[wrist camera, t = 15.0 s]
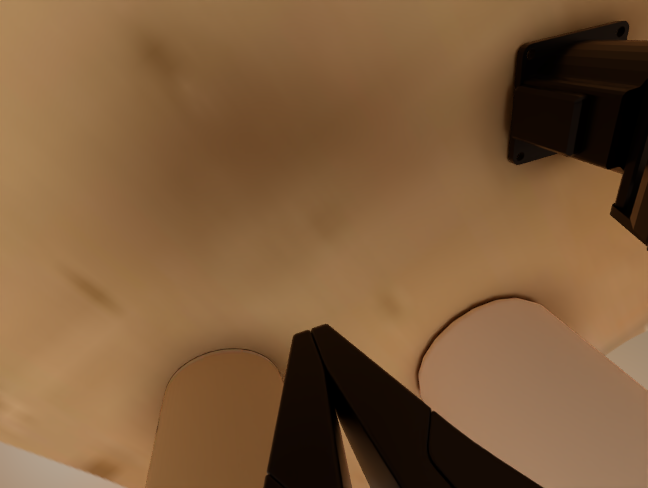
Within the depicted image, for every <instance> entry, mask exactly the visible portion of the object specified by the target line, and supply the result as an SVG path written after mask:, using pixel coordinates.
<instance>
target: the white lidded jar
mask: <svg viewBox="0 0 648 488" xmlns="http://www.w3.org/2000/svg"><path fill="white" fill-rule="evenodd" d="M418 376H419V385H420V394H421V398H422V399H423V401H424V403H425V404H427V405H428V406H429V407H430V408H431V410H432V411H435V412H437V413H438V414H439V415H440V416H442V417H443V418H444V419H445V420H446V421H448V422H449V423H450V424H451V425H453V426H454V427H455V428H457V429H458V430H459V431H461V432H462V433H463V434H465V435H466V436H467V437H468V438H470V439H471V440H473V441H474V442H475V443H477V444H478V445H480V446H481V447H483V448H484V449H486V450H487V451H489V452H490V453H492V454H493V455H494V456H496V457H497V458H499V459H500V460H502V461H504V462H505V463H507V464H508V465H510V466H511V467H513V468H514V469H516V470H517V471H519V472H520V473H522V474H523V475H525V476H527V477H528V478H530V479H531V480H533V481H534V482H536V483H537V484H539V485H540V486H542V487H543V488H648V390H646V389H645V388H644V387H643V386H641V385H640V384H639V383H638V382H636V381H635V380H634V379H633V378H631V377H630V376H629V375H628V374H626V373H625V372H624V371H623V370H622V369H620V368H619V367H618V366H617V365H615V364H614V363H613V362H612V361H610V360H609V359H608V358H607V357H605V356H604V355H603V354H602V353H600V352H599V351H598V350H597V349H596V348H594V347H593V346H592V345H591V344H589V343H588V342H587V341H586V340H584V339H583V338H582V337H581V336H579V335H578V334H577V333H576V332H574V331H573V330H572V329H571V328H570V327H568V326H567V325H566V324H565V323H563V322H562V321H561V320H560V319H558V318H557V317H556V316H555V315H553V314H552V313H551V312H550V311H548V310H547V309H546V308H545V307H543V306H542V305H541V304H538V303H535V302H531V301H527V300H523V299H519V298H510V299H500V300H495V301H492V302H489V303H487V304H484V305H481V306H479V307H476V308H474V309H472V310H471V311H469V312H467V313H466V314H464V315H463V316H461V317H460V318H458V319H456V320H455V321H453V322H452V323H451V324H450V325H449V326H448V327H447V328H446V329H445V330H444V331H443V332H442V333H441V334H440V335H439V336H438V337H437V338H436V339H435V340H434V342H433V343H432V345H431V346H430V348H429V349H428V351H427V352H426V354H425V356H424V357H423V360H422V364H421V367H420V370H419V374H418Z"/></svg>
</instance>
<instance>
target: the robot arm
mask: <svg viewBox="0 0 648 488" xmlns="http://www.w3.org/2000/svg"><path fill="white" fill-rule="evenodd" d="M617 31H618V32H617ZM628 31H629V24H628V22H626V21H615V22H611V23H607V24H603V25H599V26H595V27H591V28H587V29H583V30H578V31H574V32H570V33H566V34H562V35H558V36H554V37H550V38H546V39H542V40H538V41H533V42H529V43H526V44H524V45H523V46H522V47H521V48H520V49H519V51H518V55H517V65H516V76H515V88H514V99H513V110H512V122H511V133H510V145H509V156H508V158H509V161H510V162H511V163H514V164H516V165H520V164H523V163H527V162H530V161H534V160H537V159H540V158H544V157H547V156H551V155H554V154H557V153H558V154H561V155H564V156H569V157H572V158H575V159H578V160H581V161H584V162H587V163H590V164H593V165H596V166H599V167H602V168H605V169H609V170H612V171H615V172H618V173H621V174H623V175H622V179H621V183H620V186H619V190H618V194H617V198H616V202H615V203H614V204H612V208H611V212H610V215H611V216H612V217H613V218H614V219H616V220H617V221H618V222H619V223H620V224H621V225H623V226H624V227H625V228H626V229H627V230H628V231H630V232H631V233H632V234H633V235H634V236H636V237H637V238H638V239H639V240H640V241H641V242H643V243H644V244H645V245H646V246H647V251H648V41H640V40H627V35H628ZM529 50H530V54H529V56H528V58H527V53H528V51H529ZM519 153H520V154H519ZM518 154H519V156H518V158H517V155H518ZM336 413H337V414H336ZM337 416H338V418H339V421H340V423H341V426H342V428H343V430H344V432H345V434H346V436H347V439H348V441H349V443H350V445H351V447H352V449H353V451H354V454H355V456H356V458H357V460H358V462H359V464H360V466H361V468H362V471H363V473H364V475H365V477H366V479H367V481H368V483H369V485H370V488H543V487H542V486H540V485H539V484H537V483H536V482H534V481H533V480H531V479H530V478H528V477H527V476H525V475H523V474H522V473H520V472H519V471H517V470H516V469H514V468H513V467H511V466H510V465H508V464H507V463H505V462H504V461H502V460H500V459H499V458H497V457H496V456H494V455H493V454H492V453H490V452H489V451H487V450H486V449H484V448H483V447H481V446H480V445H478V444H477V443H475V442H474V441H473V440H471V439H470V438H468V437H467V436H466V435H465V434H463V433H462V432H461V431H459V430H458V429H457V428H455V427H454V426H453V425H451V424H450V423H449V422H448V421H446V420H445V419H444V418H443V417H442V416H440V415H439V414H438V413H437V412H435V411H432V410H431V408H430V407H429V406H428V405H427V404H425V403H424V402H423V401H422V400H420V399H419V398H418V397H417V396H415V395H414V394H413V393H412V392H411V391H409V390H408V389H407V388H406V387H404V386H403V385H402V384H401V383H399V382H398V381H397V380H396V379H395V378H393V377H392V376H391V375H390V374H388V373H387V372H386V371H385V370H383V369H382V368H381V367H380V366H379V365H377V364H376V363H375V362H374V361H372V360H371V359H370V358H369V357H367V356H366V355H365V354H364V353H363V352H361V351H360V350H359V349H358V348H356V347H355V346H354V345H353V344H351V343H350V342H349V341H348V340H347V339H345V338H344V337H343V336H342V335H340V334H339V333H338V332H337V331H335V330H334V329H333V328H332V327H331V326H329V325H328V324H323V325H320V326H317V327H314V328H312V330H311V331H310V330H306V331H303V332H300V333H297V334H295V335H294V336H293V339H292V344H291V349H290V354H289V359H288V364H287V369H286V375H285V380H284V385H283V390H282V395H281V400H280V405H279V410H278V415H277V420H276V425H275V430H274V436H273V441H272V446H271V451H270V456H269V461H268V466H267V471H266V472H267V474H268V475H266V476H265V480H264V485H263V488H352V485H351V480H350V475H349V470H348V465H347V460H346V455H345V450H344V445H343V440H342V435H341V430H340V426H339V422H338V418H337Z"/></svg>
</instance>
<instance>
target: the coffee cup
mask: <svg viewBox="0 0 648 488" xmlns="http://www.w3.org/2000/svg"><path fill="white" fill-rule="evenodd" d="M283 385H284V384H283V381H282V379H281V376H280V373H279V371H278V369H277V368H276V366H275V365H274V364H273V363H272V362H271V361H270V360H269V359H267V358H266V357H264V356H262V355H261V354H258V353H255V352H253V351H248V350H243V349H225V350H219V351H213V352H210V353H207V354H204V355H201V356H199V357H197V358H195V359H193V360H191V361H190V362H188V363H187V364H185V365H184V366H183V367H181V368H180V369H179V370H178V371H177V372H176V373H175V374H174V376H173V377H172V378H171V380H170V382H169V383H168V385H167V388H166V391H165V394H164V399H163V403H162V407H161V412H160V416H159V421H158V426H157V431H156V436H155V441H154V446H153V451H152V456H151V461H150V466H149V471H148V475H147V480H146V486H145V488H263V485H264V480H265V476H266V475H268V474H267V472H266V471H267V466H268V461H269V456H270V451H271V446H272V441H273V436H274V430H275V425H276V420H277V415H278V410H279V405H280V400H281V395H282V390H283Z"/></svg>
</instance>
